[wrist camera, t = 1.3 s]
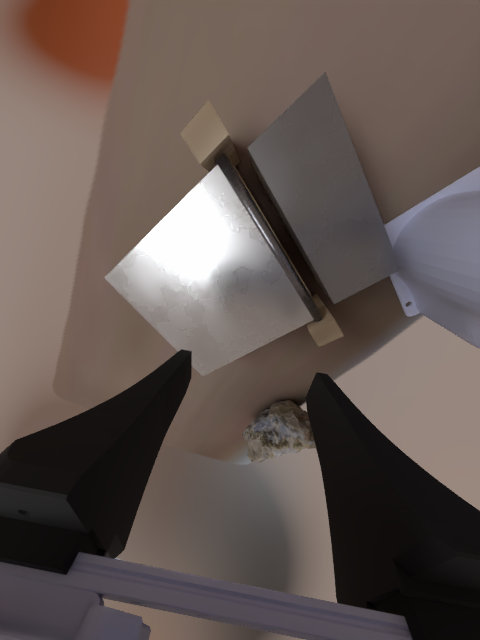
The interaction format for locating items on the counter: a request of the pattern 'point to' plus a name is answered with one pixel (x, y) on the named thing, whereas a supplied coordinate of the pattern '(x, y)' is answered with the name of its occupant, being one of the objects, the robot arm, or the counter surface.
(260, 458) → the rock
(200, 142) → the frame
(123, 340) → the counter surface
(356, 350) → the counter surface
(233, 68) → the counter surface
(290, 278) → the trapdoor
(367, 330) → the counter surface
